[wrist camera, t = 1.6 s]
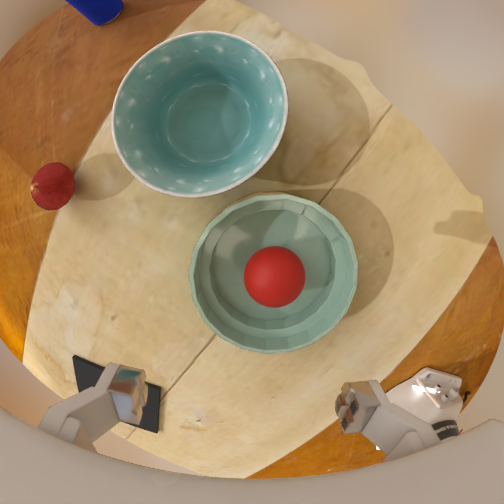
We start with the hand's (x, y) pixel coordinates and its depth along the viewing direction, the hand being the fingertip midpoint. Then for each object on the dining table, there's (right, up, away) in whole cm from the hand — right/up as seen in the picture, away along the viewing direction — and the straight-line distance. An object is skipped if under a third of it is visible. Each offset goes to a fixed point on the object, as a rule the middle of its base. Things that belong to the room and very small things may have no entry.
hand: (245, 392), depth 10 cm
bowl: (-5, +20, +18) cm, 27 cm away
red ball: (+3, +4, +22) cm, 22 cm away
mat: (-23, -20, +28) cm, 42 cm away
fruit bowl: (+3, +4, +22) cm, 23 cm away
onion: (-24, +14, +19) cm, 34 cm away
